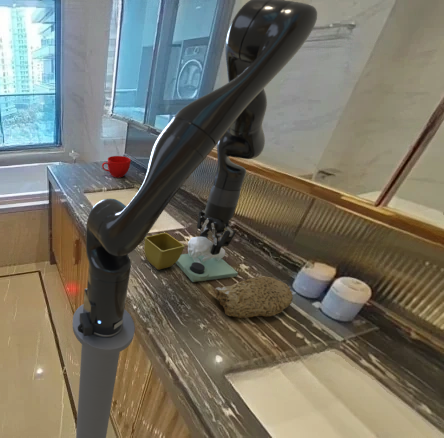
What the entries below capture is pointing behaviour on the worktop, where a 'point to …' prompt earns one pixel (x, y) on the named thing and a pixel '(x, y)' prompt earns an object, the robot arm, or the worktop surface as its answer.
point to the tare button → (197, 268)
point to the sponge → (255, 297)
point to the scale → (206, 268)
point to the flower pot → (162, 250)
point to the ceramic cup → (117, 165)
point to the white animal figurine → (203, 249)
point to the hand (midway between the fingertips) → (207, 248)
